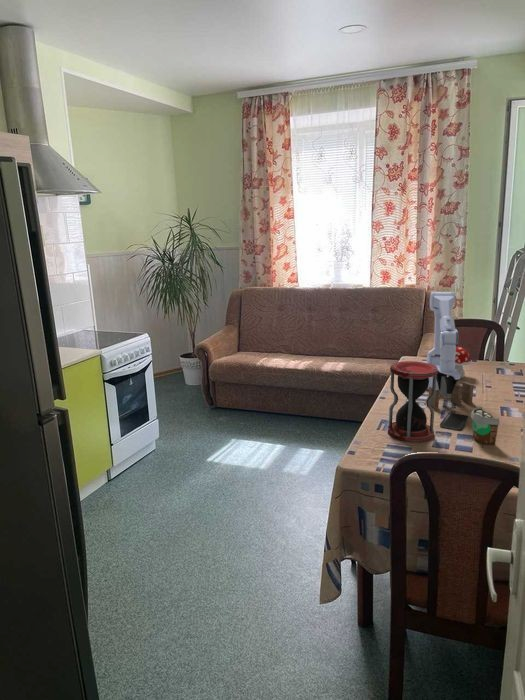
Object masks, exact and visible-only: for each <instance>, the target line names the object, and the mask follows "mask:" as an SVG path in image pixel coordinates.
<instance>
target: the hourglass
mask: <svg viewBox="0 0 525 700" xmlns="http://www.w3.org/2000/svg"><path fill="white" fill-rule="evenodd" d="M389 371H390V385H389V387H390V389H389V390H390V392H391V393H392V395H393V398H394V399H393V402H392V403H391V404H390V406H389V408H388V409H389V415H388V416H389V417H388V425H387V433H388V434H389V435H390V437H392V438H394V439H397V440H399V441H403V442H408V443H409V442H410V443H411V442H412V443H413V442H414V443H420V442H421V443H422V442H426V441H429V440H431V439H432V438H434V436H435V435H434V434H435V431H434V430H435V429H434V422H435V412H434V411H435V410H434V408H433V407H431V405H430V401H431V398H432V397H433V396H434V395H435V393H436V377H437V374H438V368H437V367H436V366H434V365H432V364H429V363H427V362H423V361H418V360H417V361H416V360H414V361H412V360H407V361H406V360H405V361H397V362H394V363H392V364H391V365H390V368H389ZM395 375H396V376H397V387H398V389H399V391H400V392H401V394H402V395H404V397H405V398H407V400H408V401H406V402H405V403H404V404H403V405H401V407H400V408H399V409H398V410H397V412H396V415H395V421H393V415H394V414H393V413H394V408H395V406H396V405H397V404H398V401H399V396H398V393H397V392H396V391H395V388H394V387H395V386H394V384H395ZM429 377H433V385H432V393H431V395H430V396H429V397H427V398H426V401H425V404H426V407H427V409H429V412H430V420H429V425H428V424H427V422H428V421H427V414H426V412H425V410H424V409H423V407H422V406H421V405H420V404H419V403H417V399H419V398H420V397H422V396H423V395H424V394H425V393H426V392H427V391H428V389H427V388H428V385H429Z"/></svg>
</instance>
